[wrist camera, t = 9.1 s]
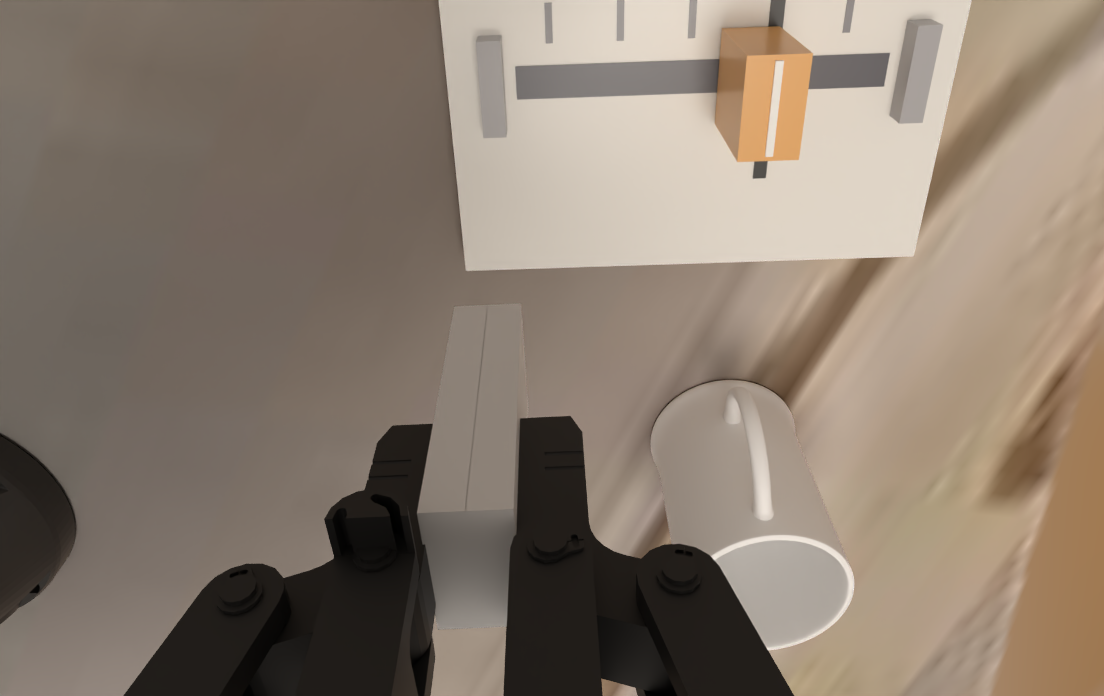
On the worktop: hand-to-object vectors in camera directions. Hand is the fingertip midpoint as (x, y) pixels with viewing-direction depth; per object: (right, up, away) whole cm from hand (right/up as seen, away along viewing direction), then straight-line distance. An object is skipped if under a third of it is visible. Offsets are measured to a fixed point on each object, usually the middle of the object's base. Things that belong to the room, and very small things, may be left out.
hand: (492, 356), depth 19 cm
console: (+8, +12, +19) cm, 24 cm away
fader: (+10, +12, +16) cm, 23 cm away
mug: (+11, -4, +29) cm, 31 cm away
